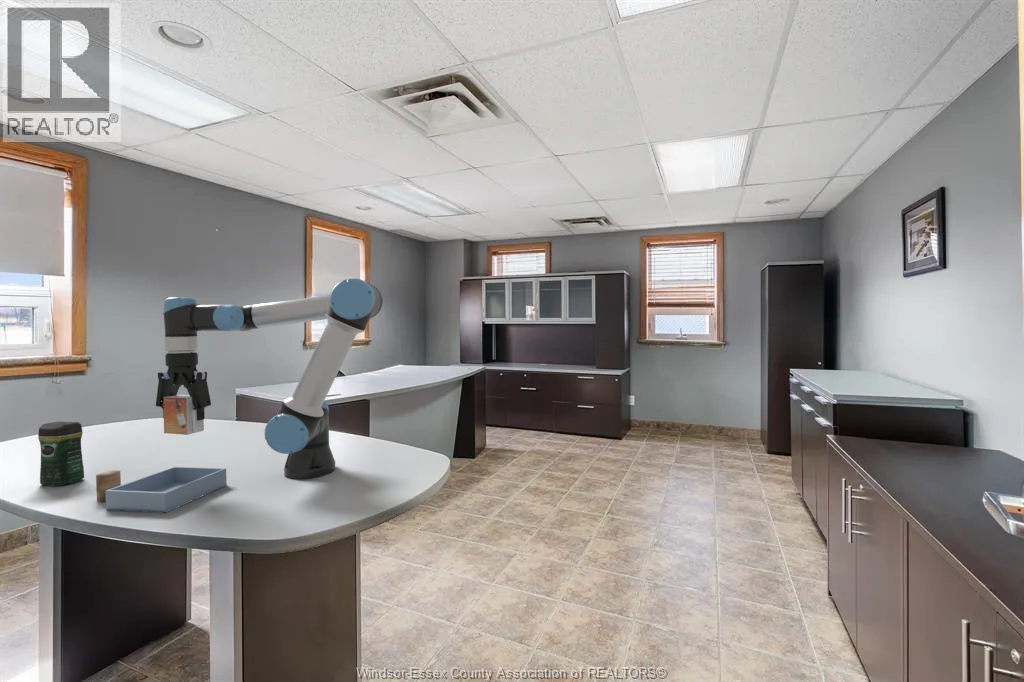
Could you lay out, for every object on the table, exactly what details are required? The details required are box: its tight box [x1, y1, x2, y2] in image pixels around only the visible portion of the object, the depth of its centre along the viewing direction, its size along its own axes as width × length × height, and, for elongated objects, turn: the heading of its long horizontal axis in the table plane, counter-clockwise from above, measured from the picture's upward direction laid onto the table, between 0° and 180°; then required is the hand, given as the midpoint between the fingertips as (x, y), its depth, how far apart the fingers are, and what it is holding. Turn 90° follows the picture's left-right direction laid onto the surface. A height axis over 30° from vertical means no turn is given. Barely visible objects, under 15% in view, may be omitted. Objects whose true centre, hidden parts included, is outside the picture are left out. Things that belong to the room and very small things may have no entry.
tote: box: [105, 466, 228, 513], centre depth 125 cm, size 17×20×5 cm
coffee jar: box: [37, 421, 85, 487], centre depth 137 cm, size 10×8×19 cm
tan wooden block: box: [95, 469, 122, 502], centre depth 124 cm, size 5×5×7 cm
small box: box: [163, 394, 205, 436], centre depth 129 cm, size 8×6×10 cm
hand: (184, 431), depth 129 cm, fingers closed on small box, 8 cm apart
